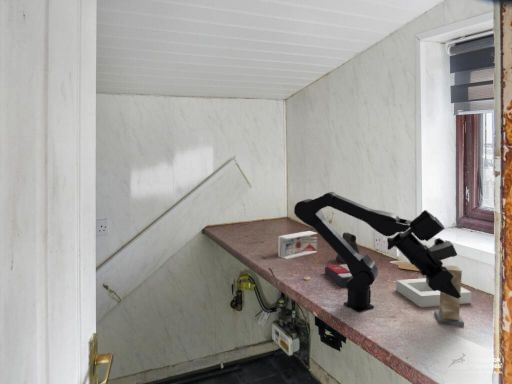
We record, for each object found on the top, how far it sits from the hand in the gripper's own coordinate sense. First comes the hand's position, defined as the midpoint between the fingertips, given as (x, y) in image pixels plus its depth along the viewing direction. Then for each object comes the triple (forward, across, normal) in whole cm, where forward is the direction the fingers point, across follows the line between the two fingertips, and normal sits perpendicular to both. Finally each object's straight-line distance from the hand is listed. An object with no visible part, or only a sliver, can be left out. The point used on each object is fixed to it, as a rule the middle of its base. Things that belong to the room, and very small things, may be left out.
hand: (455, 292), depth 97 cm
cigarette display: (-30, +54, +42) cm, 75 cm away
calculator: (-15, +26, +27) cm, 40 cm away
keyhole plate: (+4, +17, +8) cm, 19 cm away
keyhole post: (+5, 0, +7) cm, 8 cm away
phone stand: (-15, +49, +26) cm, 57 cm away
